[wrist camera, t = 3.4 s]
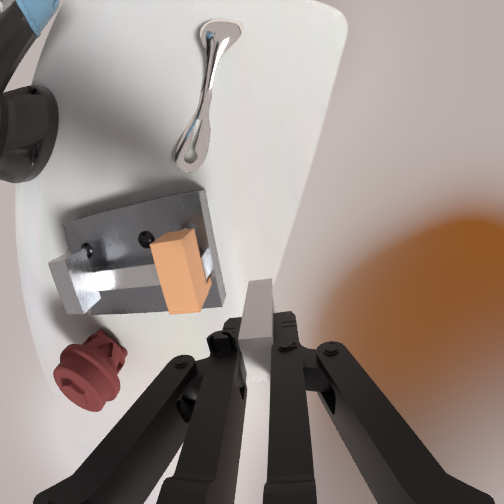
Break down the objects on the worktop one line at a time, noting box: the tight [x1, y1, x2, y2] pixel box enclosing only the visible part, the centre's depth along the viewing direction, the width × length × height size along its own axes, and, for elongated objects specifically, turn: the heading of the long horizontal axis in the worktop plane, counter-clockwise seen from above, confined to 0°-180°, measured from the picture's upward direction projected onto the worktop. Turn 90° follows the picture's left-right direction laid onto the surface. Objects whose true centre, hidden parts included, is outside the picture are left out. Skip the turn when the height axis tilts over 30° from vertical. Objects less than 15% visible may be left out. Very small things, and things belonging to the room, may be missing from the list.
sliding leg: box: [150, 228, 212, 314], centre depth 26 cm, size 7×3×6 cm, turn 9°
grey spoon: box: [175, 19, 243, 173], centre depth 25 cm, size 20×4×5 cm
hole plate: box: [63, 189, 226, 315], centre depth 31 cm, size 13×19×3 cm
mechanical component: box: [53, 330, 128, 412], centre depth 32 cm, size 12×10×10 cm
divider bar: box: [48, 246, 210, 314], centre depth 27 cm, size 6×18×6 cm, turn 99°
